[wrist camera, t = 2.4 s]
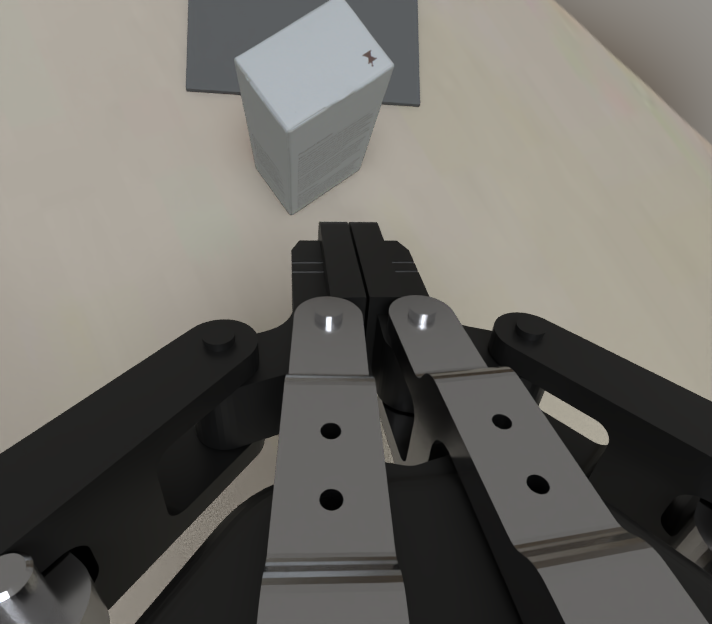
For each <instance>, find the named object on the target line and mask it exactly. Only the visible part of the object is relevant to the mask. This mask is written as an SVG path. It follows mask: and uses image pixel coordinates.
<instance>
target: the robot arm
mask: <svg viewBox="0 0 712 624" xmlns="http://www.w3.org/2000/svg"><path fill="white" fill-rule="evenodd" d="M291 253H292V311H293V312H292V315H291V316H290V318H289V319H288V320H287V321H286V322H285V323H283V324H282V325H280V326H278V327H277V328H274V329H272V330H269V331H265V332H261V333H257V334H256V332H255V331H254V330H253V329H252V328H251V327H250V326H249V325H247V324H245V323H242V322H239V321H235V320H213V321H209V322H205V323H202V324H200V325H197V326H196V327H194V328H192V329H191V330H189V331H187V332H186V333H184V334H183V335H181V336H180V337H178V338H177V339H175V340H174V341H172V342H171V343H169V344H168V345H166V346H165V347H163V348H161V349H160V350H158V351H157V352H155V353H154V354H152V355H151V356H149V357H148V358H146V359H145V360H143V361H142V362H140V363H139V364H137V365H135V366H134V367H132V368H131V369H129V370H128V371H126V372H125V373H123V374H122V375H120V376H119V377H117V378H116V379H114V380H113V381H111V382H109V383H108V384H106V385H105V386H103V387H102V388H100V389H99V390H97V391H96V392H94V393H93V394H91V395H90V396H88V397H87V398H85V399H84V400H82V401H80V402H79V403H77V404H76V405H74V406H73V407H71V408H70V409H68V410H67V411H65V412H64V413H62V414H61V415H59V416H58V417H56V418H54V419H53V420H51V421H50V422H48V423H47V424H45V425H44V426H42V427H41V428H39V429H38V430H36V431H35V432H33V433H32V434H30V435H28V436H27V437H25V438H24V439H22V440H21V441H19V442H18V443H16V444H15V445H13V446H12V447H10V448H9V449H7V450H6V451H4V452H2V453H1V454H0V624H110V616H109V613H108V610H109V609H110V608H111V607H112V606H113V605H114V604H115V603H116V602H117V601H118V600H119V599H120V598H121V596H122V595H123V594H124V593H125V592H126V591H127V590H128V589H129V588H130V587H131V586H132V585H133V584H134V583H135V582H136V581H137V580H138V579H139V578H140V577H141V576H142V575H143V574H144V573H145V572H146V571H147V569H148V568H149V567H150V566H151V565H152V564H153V563H154V562H155V561H156V560H157V559H158V558H159V557H160V556H161V555H162V554H163V553H164V552H165V551H166V550H167V549H168V548H169V547H170V546H171V545H172V544H173V542H174V541H175V540H176V539H177V538H178V537H179V536H180V535H181V534H182V533H183V532H184V531H185V530H186V529H187V528H188V527H189V526H190V525H191V524H192V523H193V522H194V521H195V520H196V519H197V518H198V516H199V515H200V514H201V513H202V512H203V511H204V510H205V509H206V508H207V507H208V506H209V505H210V504H211V503H212V502H213V501H214V500H215V499H216V498H217V497H218V496H219V495H220V494H221V493H222V492H223V491H224V489H225V488H226V487H227V486H228V485H229V484H230V483H231V482H232V481H233V480H234V479H235V478H236V477H237V476H238V475H239V474H240V473H241V472H242V471H243V470H244V469H245V468H246V467H247V466H248V465H249V464H250V462H251V461H252V460H253V459H254V458H255V457H256V456H257V455H258V454H259V453H260V451H261V450H262V448H263V445H264V440H265V439H266V438H269V437H272V436H275V435H278V434H279V441H278V451H277V461H276V471H275V480H274V485H272V486H270V487H267V488H265V489H263V490H262V491H260V492H258V493H256V494H255V495H253V496H251V497H250V498H249V499H247V500H246V501H245V502H243V503H242V504H240V505H239V506H238V507H237V508H235V509H234V510H233V511H232V512H231V513H230V514H229V515H228V516H227V517H226V518H225V519H224V520H223V521H222V522H221V523H220V524H219V525H218V526H217V528H216V529H215V530H214V531H213V532H212V533H211V535H210V536H209V537H208V538H207V539H206V541H205V542H204V543H203V544H202V545H201V546H200V548H199V549H198V550H197V551H196V552H195V553H194V555H193V556H192V557H191V558H190V559H189V561H188V562H187V563H186V564H185V565H184V566H183V568H182V569H181V570H180V571H179V572H178V573H177V575H176V576H175V577H174V578H173V579H172V580H171V582H170V583H169V584H168V585H167V586H166V588H165V589H164V590H163V591H162V592H161V593H160V595H159V596H158V597H157V598H156V599H155V600H154V602H153V603H152V604H151V605H150V606H149V608H148V609H147V610H146V611H145V612H144V613H143V615H142V616H141V617H140V618H139V619H138V620H137V622H136V623H135V624H712V402H711V401H709V400H707V399H705V398H703V397H701V396H699V395H697V394H695V393H693V392H691V391H689V390H687V389H685V388H683V387H681V386H679V385H677V384H675V383H673V382H671V381H669V380H667V379H665V378H663V377H661V376H659V375H657V374H655V373H653V372H651V371H649V370H647V369H644V368H642V367H640V366H638V365H636V364H634V363H632V362H630V361H628V360H626V359H624V358H622V357H620V356H618V355H616V354H614V353H612V352H610V351H608V350H606V349H604V348H602V347H600V346H598V345H596V344H594V343H592V342H590V341H588V340H586V339H584V338H582V337H580V336H578V335H576V334H574V333H572V332H569V331H567V330H565V329H563V328H561V327H559V326H557V325H555V324H553V323H551V322H549V321H547V320H545V319H543V318H541V317H538V316H535V315H531V314H527V313H517V312H516V313H507V314H504V315H502V316H500V317H498V318H497V319H496V321H495V323H494V327H493V330H492V331H490V330H484V329H479V328H474V327H468V326H464V325H461V323H460V321H459V320H458V318H457V317H456V315H455V313H454V312H453V310H452V309H451V308H450V307H449V306H448V305H447V304H445V303H444V302H442V301H440V300H437V299H435V298H432V297H429V295H428V293H427V290H426V288H425V286H424V283H423V281H422V279H421V277H420V274H419V272H418V270H417V268H416V265H415V263H414V261H413V259H412V256H411V254H410V252H409V250H408V249H407V248H405V247H404V246H403V245H402V244H400V243H399V242H398V241H384V239H383V237H382V234H381V231H380V228H379V226H378V223H377V222H349V224H348V223H347V222H319V230H318V241H299V242H298V243H297V244H296V245H295V247H294V248H293V249H292V250H291ZM544 391H547V392H549V393H550V394H552V395H554V396H556V397H557V398H559V399H561V400H562V401H564V402H566V403H568V404H569V405H571V406H573V407H574V408H576V409H578V410H580V411H581V412H583V413H585V414H586V415H588V416H590V417H592V418H593V419H595V420H597V421H598V422H599V423H600V424H602V425H603V427H604V428H605V429H606V431H607V433H608V436H609V443H608V445H600V444H597V443H595V442H593V441H591V440H589V439H588V438H586V437H584V436H583V435H581V434H579V433H578V432H576V431H575V430H573V429H571V428H570V427H568V426H566V425H565V424H563V423H561V422H560V421H558V420H556V419H555V418H553V417H552V416H550V415H548V414H547V413H545V412H543V411H542V410H541V409H540V408H539V403H540V401H541V399H542V396H543V394H544ZM377 394H378V398H377ZM380 419H381V422H382V425H383V429H384V432H385V435H386V438H387V441H388V444H389V448H390V451H391V454H392V457H393V460H394V463H395V464H393V463H387V462H385V459H384V450H383V442H382V433H381V425H380Z"/></svg>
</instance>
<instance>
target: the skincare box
mask: <svg viewBox="0 0 712 624" xmlns="http://www.w3.org/2000/svg"><path fill="white" fill-rule="evenodd" d="M234 63H235V68H236V73H237V78H238V83H239V87H240V92H241V98H242V102H243V107H244V112H245V116H246V121H247V126H248V131H249V136H250V141H251V146H252V151H253V156H254V161H255V166H256V169H257V170H258V172H259V173H260V174H261V175H262V177H263V178H264V179H265V181H266V182H267V184H268V185H269V187H270V188H271V189H272V191H273V192H274V194H275V195H276V196H277V198H278V199H279V200H280V202H281V203H282V205H283V206H284V207H285V209H286V210H287V211H288V213H289V214H290V215H293V214H294V213H296V212H297V211H299V210H300V209H302V208H303V207H305V206H306V205H308V204H309V203H311V202H312V201H314V200H315V199H317V198H318V197H320V196H321V195H323V194H324V193H325V192H327V191H328V190H330V189H331V188H333V187H334V186H336V185H337V184H339V183H340V182H342V181H343V180H345V179H346V178H348V177H349V176H351V175H352V174H353V173H355V172H357V171H358V170H359V169H360V166H361V163H362V161H363V158H364V155H365V152H366V149H367V146H368V143H369V140H370V137H371V134H372V131H373V128H374V125H375V122H376V119H377V116H378V113H379V110H380V107H381V104H382V101H383V98H384V95H385V92H386V90H387V87H388V83H389V80H390V78H391V75H392V71H393V68H394V63H393V62H392V61H391V59H390V58H389V57H388V56H387V54H386V53H385V52H384V51H383V49H382V48H381V47H380V46H379V44H378V43H377V42H376V40H375V39H374V38H373V36H372V35H371V34H370V33H369V31H368V30H367V28H366V27H365V26H364V24H363V23H362V22H361V20H360V19H359V18H358V16H357V15H356V14H355V12H354V11H353V10H352V8H351V7H350V6H349V5H348V3H347V2H346V1H345V0H329V1H328V2H326V3H324V4H323V5H321V6H319V7H318V8H316V9H314V10H313V11H311V12H309V13H308V14H306V15H305V16H303V17H301V18H300V19H298V20H296V21H295V22H293V23H292V24H290V25H288V26H287V27H285V28H284V29H282V30H280V31H279V32H277V33H276V34H274V35H272V36H271V37H269V38H267V39H266V40H264V41H262V42H261V43H259V44H257V45H256V46H254V47H253V48H251V49H249V50H247V51H246V52H244V53H242V54H241V55H239V56H237V57H235V59H234Z"/></svg>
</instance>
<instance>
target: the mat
mask: <svg viewBox="0 0 712 624" xmlns="http://www.w3.org/2000/svg"><path fill="white" fill-rule="evenodd" d="M328 1H329V0H189V1H188V35H187V69H186V90H187V91H193V92H208V93H223V94H238V95H241V92H240V87H239V83H238V78H237V73H236V68H235V63H234V59H235V57H237V56H239V55H241V54H242V53H244V52H246V51H247V50H249V49H251V48H253V47H254V46H256V45H257V44H259V43H261V42H262V41H264V40H266V39H267V38H269V37H271V36H272V35H274V34H276V33H277V32H279V31H280V30H282V29H284V28H285V27H287V26H288V25H290V24H292V23H293V22H295V21H296V20H298V19H300V18H301V17H303V16H305V15H306V14H308V13H309V12H311V11H313V10H314V9H316V8H318V7H319V6H321V5H323V4H324V3H326V2H328ZM345 1H346V2H347V3H348V5H349V6H350V7H351V8H352V10H353V11H354V12H355V14H356V15H357V16H358V18H359V19H360V20H361V22H362V23H363V24H364V26H365V27H366V28H367V30H368V31H369V33H370V34H371V35H372V36H373V38H374V39H375V40H376V42H377V43H378V44H379V46H380V47H381V48H382V49H383V51H384V52H385V53H386V54H387V56H388V57H389V58H390V59H391V61H392V62H393V63H394V68H393V71H392V75H391V78H390V80H389V83H388V87H387V90H386V92H385V95H384V98H383V101H382V104H388V105H403V106H418V107H419V105H420V83H419V43H418V3H417V0H345Z"/></svg>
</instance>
